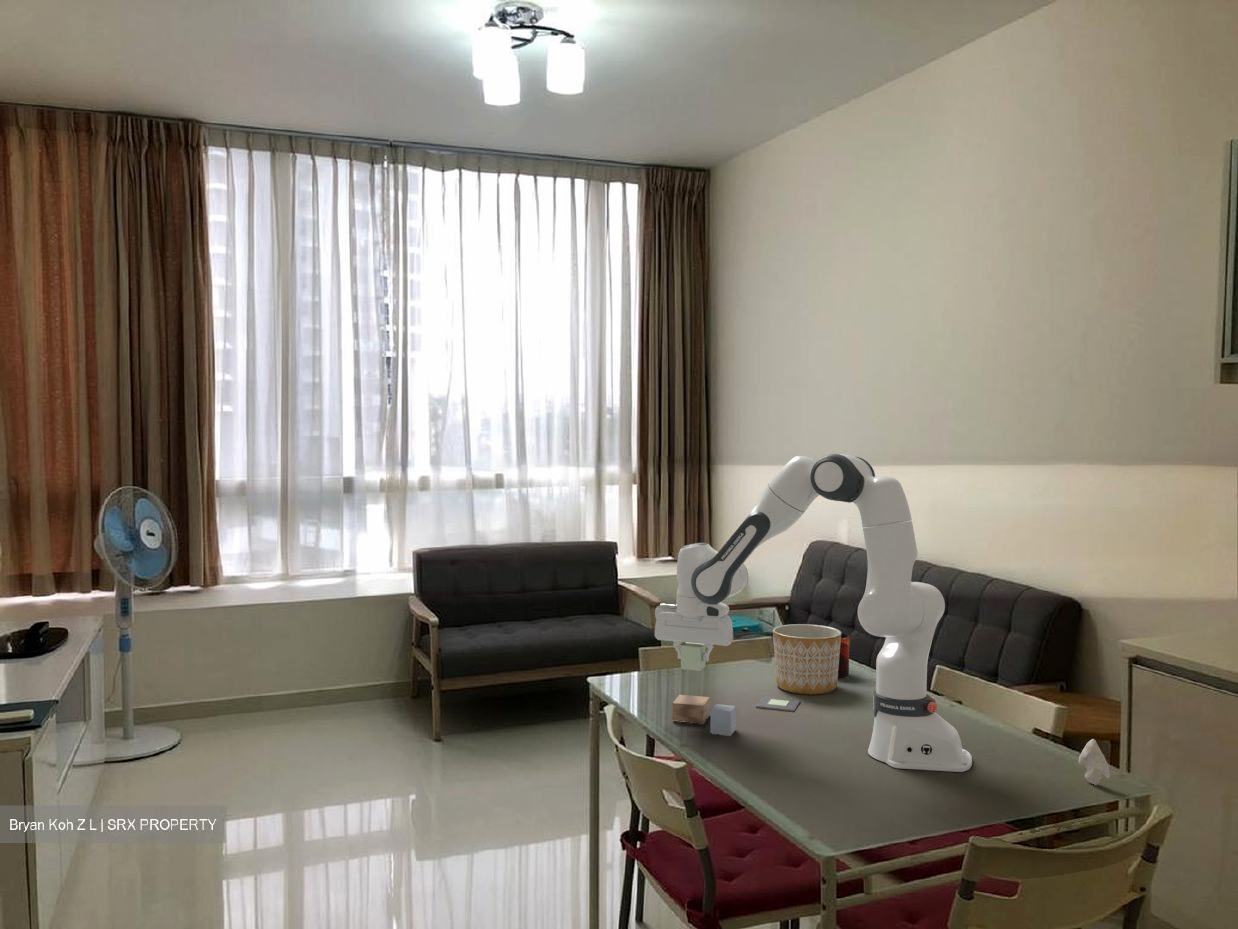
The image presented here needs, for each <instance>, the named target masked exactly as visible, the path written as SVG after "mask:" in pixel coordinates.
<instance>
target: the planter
mask: <svg viewBox="0 0 1238 929" xmlns="http://www.w3.org/2000/svg"><path fill="white" fill-rule="evenodd" d="M841 633H842V631H841V630H839V629H838V628H836V627H832V626H827V625H820V624H819V625H818V624H810V623H809V624H808V623H807V624H806V623H803V624H802V623H801V624H800V623H797V624H784V625H783V624H782V625H778V626H776V627H774V628H773V629H772V636H773V638H772V639H773V640H772V642H773V653H774V670H775V671H774V672H775V682H776V685H777V686H778V687H779V688H780V689H781V690H783V691H785V692H788V693H792V694H797V695H810V696H812V695H813V696H815V695H824V694H829V693H832V692H833V691H834V690H835V689H836V688H837V686H838V680H839V679H838V667H839V655H840V644H841Z"/></svg>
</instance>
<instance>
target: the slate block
mask: <svg viewBox="0 0 1238 929" xmlns="http://www.w3.org/2000/svg"><path fill="white" fill-rule="evenodd" d="M736 708H737V707H736V706H735V705H729V704H728V705H727V704H719V703H715V704H714V705H713V706H712V707H711V709H710V733H712V734H711V735H717V734H719V736H726V737H732V735H733V734H734V733H735V731H736V720H737V719H736V714H737V713H736V710H737V709H736Z"/></svg>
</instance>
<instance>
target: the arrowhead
mask: <svg viewBox="0 0 1238 929" xmlns="http://www.w3.org/2000/svg"><path fill="white" fill-rule="evenodd" d="M1078 757H1079V758H1078V761H1077V763H1078V764H1079V766H1080V767H1081V766H1084V767H1085V768H1086V772H1085V774H1084V778H1085V780H1086V781H1087V782H1089V783H1090V784H1091V785H1093V784H1094V785H1093V786H1098V785H1099V784H1100V783H1101V780H1102V779H1103V776H1104V777H1106V779H1108V780H1109V779H1110V777H1111V773H1110V768H1109V764H1108V762H1107V760H1106V758H1105V754H1103V752H1102V751H1101V749H1100V747H1099V745H1098V743H1097V741H1096V739H1094V738H1092V739H1090V740H1089V741H1088V742H1087V743H1086V745H1085V746H1084V748H1083V749H1082V750H1081V753H1080V755H1079V756H1078Z"/></svg>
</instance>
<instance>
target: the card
mask: <svg viewBox="0 0 1238 929" xmlns="http://www.w3.org/2000/svg"><path fill="white" fill-rule="evenodd" d="M800 703H801V699H797V698H796V699H793V698H783V697H776V696H775V697H774V696H765V695H763V697H762V698H761V699H760V701H759V702H758V703H757V704H756V705H755V708H756V709H762V710H763V709H766V710H773V711H774V710H775V711H785V712H792V713H793V712H795V710H796V709H797V707H798V706H799V705H800Z"/></svg>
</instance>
